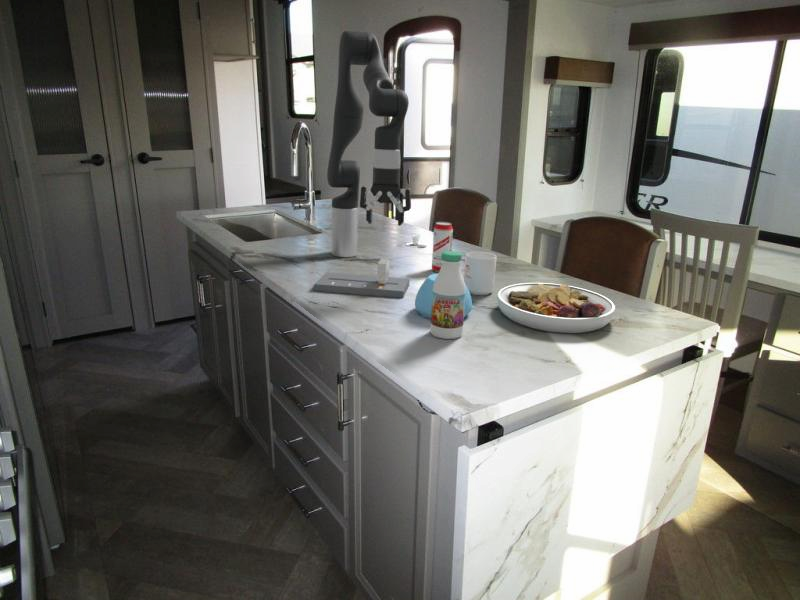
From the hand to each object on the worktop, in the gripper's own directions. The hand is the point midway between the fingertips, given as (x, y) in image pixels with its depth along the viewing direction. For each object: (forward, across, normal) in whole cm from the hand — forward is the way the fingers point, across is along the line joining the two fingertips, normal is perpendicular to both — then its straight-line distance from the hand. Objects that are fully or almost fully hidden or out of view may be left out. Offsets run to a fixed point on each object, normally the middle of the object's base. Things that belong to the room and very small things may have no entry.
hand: (384, 224), depth 162 cm
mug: (+20, -27, -7) cm, 34 cm away
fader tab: (+17, 0, 0) cm, 17 cm away
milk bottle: (+19, -21, +31) cm, 42 cm away
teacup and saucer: (+20, -2, -58) cm, 62 cm away
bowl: (+20, -48, +11) cm, 53 cm away
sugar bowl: (+20, -19, +16) cm, 32 cm away
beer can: (+20, -15, -26) cm, 36 cm away
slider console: (+20, +6, 0) cm, 20 cm away
